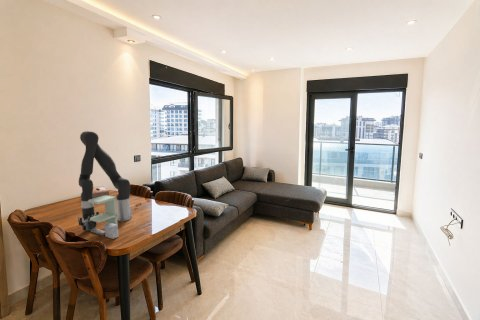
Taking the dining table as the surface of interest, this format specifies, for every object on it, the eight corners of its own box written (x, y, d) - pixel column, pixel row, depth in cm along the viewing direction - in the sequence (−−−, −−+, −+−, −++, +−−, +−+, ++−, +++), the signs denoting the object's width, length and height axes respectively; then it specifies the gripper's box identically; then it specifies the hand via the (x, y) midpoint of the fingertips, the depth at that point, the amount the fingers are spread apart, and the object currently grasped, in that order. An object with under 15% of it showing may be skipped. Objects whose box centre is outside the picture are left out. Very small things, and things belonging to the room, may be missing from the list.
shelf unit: (108, 228, 182) (105, 195, 178) (118, 230, 177) (115, 196, 174) (91, 235, 170) (88, 200, 166) (101, 238, 166) (98, 202, 162)
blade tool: (90, 228, 181) (90, 219, 180) (107, 233, 173) (106, 223, 172) (85, 230, 178) (84, 221, 177) (102, 235, 170) (101, 225, 169)
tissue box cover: (109, 200, 247) (108, 190, 245) (92, 203, 238) (91, 193, 236) (103, 194, 266) (102, 185, 265) (87, 197, 257) (87, 188, 256)
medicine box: (118, 236, 169) (118, 224, 167) (113, 239, 165) (112, 226, 163) (110, 234, 172) (109, 222, 171) (105, 237, 168) (104, 224, 167)
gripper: (94, 202, 184) (95, 223, 186) (74, 208, 171) (76, 231, 173) (100, 203, 181) (102, 225, 183) (80, 210, 168) (83, 233, 170)
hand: (89, 228), depth 178 cm, fingers open, 6 cm apart
